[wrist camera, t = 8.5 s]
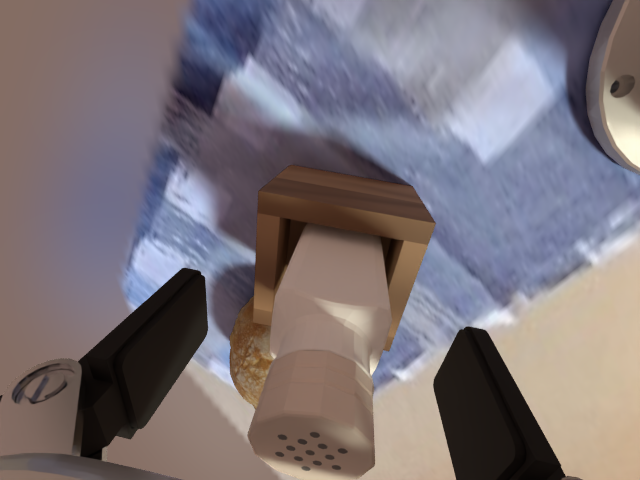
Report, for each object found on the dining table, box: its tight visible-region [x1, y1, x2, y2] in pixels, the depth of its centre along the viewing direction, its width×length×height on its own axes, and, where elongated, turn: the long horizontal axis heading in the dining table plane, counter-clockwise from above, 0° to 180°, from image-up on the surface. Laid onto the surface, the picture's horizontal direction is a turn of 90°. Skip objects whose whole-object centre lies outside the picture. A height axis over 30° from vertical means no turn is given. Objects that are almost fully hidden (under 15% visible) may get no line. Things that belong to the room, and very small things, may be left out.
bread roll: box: [230, 297, 274, 410], centre depth 21 cm, size 10×10×8 cm
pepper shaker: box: [248, 223, 392, 480], centre depth 11 cm, size 4×4×10 cm
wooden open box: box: [253, 165, 436, 351], centre depth 16 cm, size 7×7×6 cm
